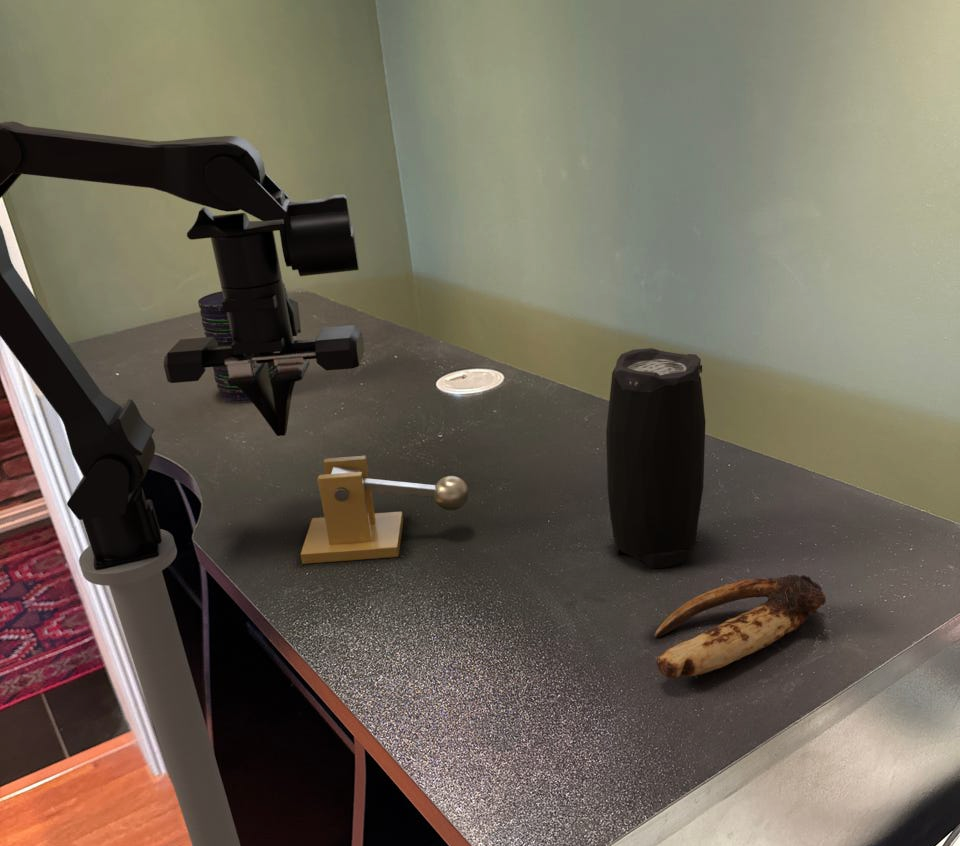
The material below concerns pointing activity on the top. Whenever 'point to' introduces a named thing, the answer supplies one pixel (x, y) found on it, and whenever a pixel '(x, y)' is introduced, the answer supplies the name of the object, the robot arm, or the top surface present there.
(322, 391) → the top surface
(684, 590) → the top surface
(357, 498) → the tap bracket
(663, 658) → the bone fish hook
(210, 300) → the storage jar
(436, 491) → the tap lever
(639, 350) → the portable speaker
